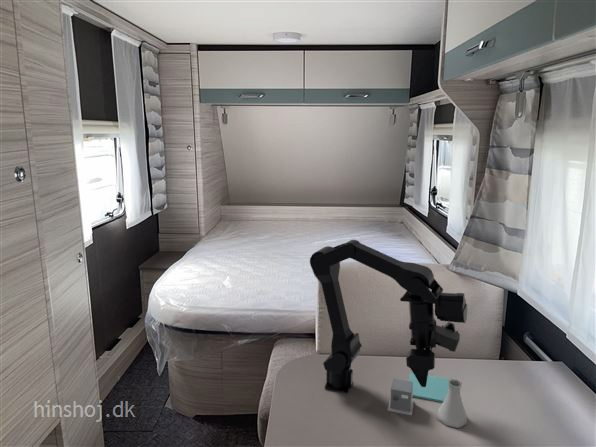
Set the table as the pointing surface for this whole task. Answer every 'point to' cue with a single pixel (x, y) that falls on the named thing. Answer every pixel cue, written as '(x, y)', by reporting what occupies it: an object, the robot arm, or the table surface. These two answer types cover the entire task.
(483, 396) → the table surface
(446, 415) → the flask
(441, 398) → the mat
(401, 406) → the box
